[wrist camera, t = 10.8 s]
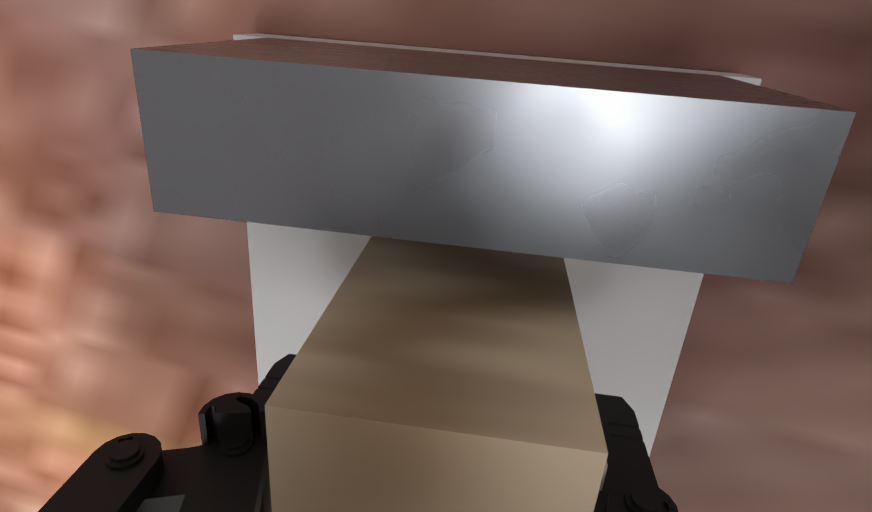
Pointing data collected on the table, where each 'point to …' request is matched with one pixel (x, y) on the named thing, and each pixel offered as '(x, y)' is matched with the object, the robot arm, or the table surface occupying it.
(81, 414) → the table surface
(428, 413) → the maple block
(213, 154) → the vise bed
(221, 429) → the robot arm
